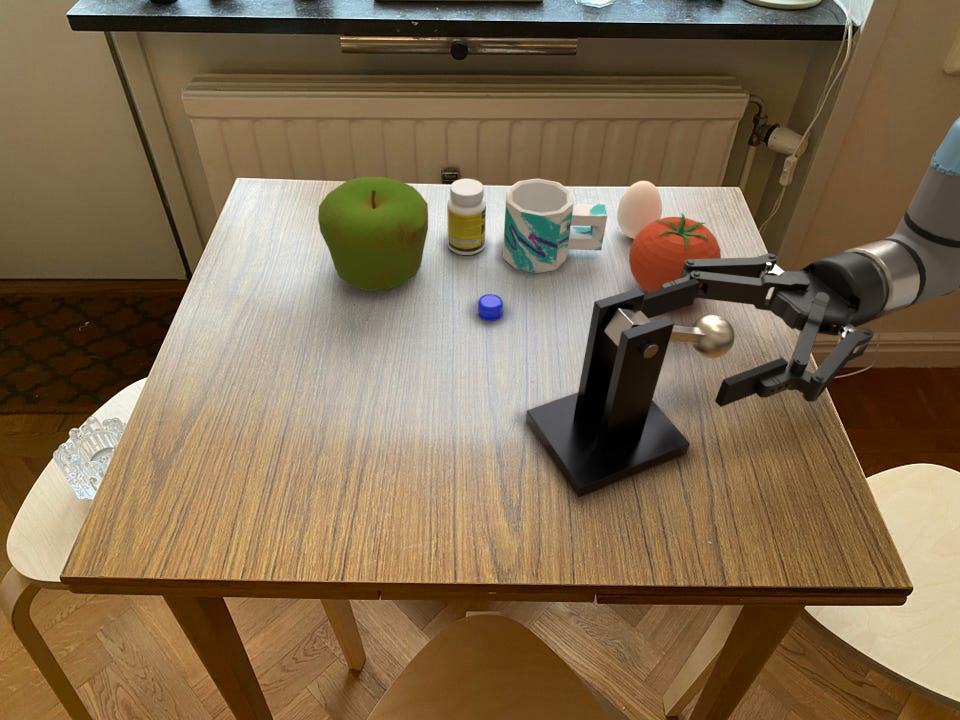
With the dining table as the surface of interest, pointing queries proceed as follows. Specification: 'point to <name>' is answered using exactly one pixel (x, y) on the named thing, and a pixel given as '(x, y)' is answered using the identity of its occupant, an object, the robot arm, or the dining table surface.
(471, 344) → the dining table surface
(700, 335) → the lever
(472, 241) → the supplement bottle
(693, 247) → the tomato
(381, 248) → the apple
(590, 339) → the tap bracket
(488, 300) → the bottle cap
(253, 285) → the dining table surface
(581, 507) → the dining table surface
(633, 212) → the egg
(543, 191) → the mug
